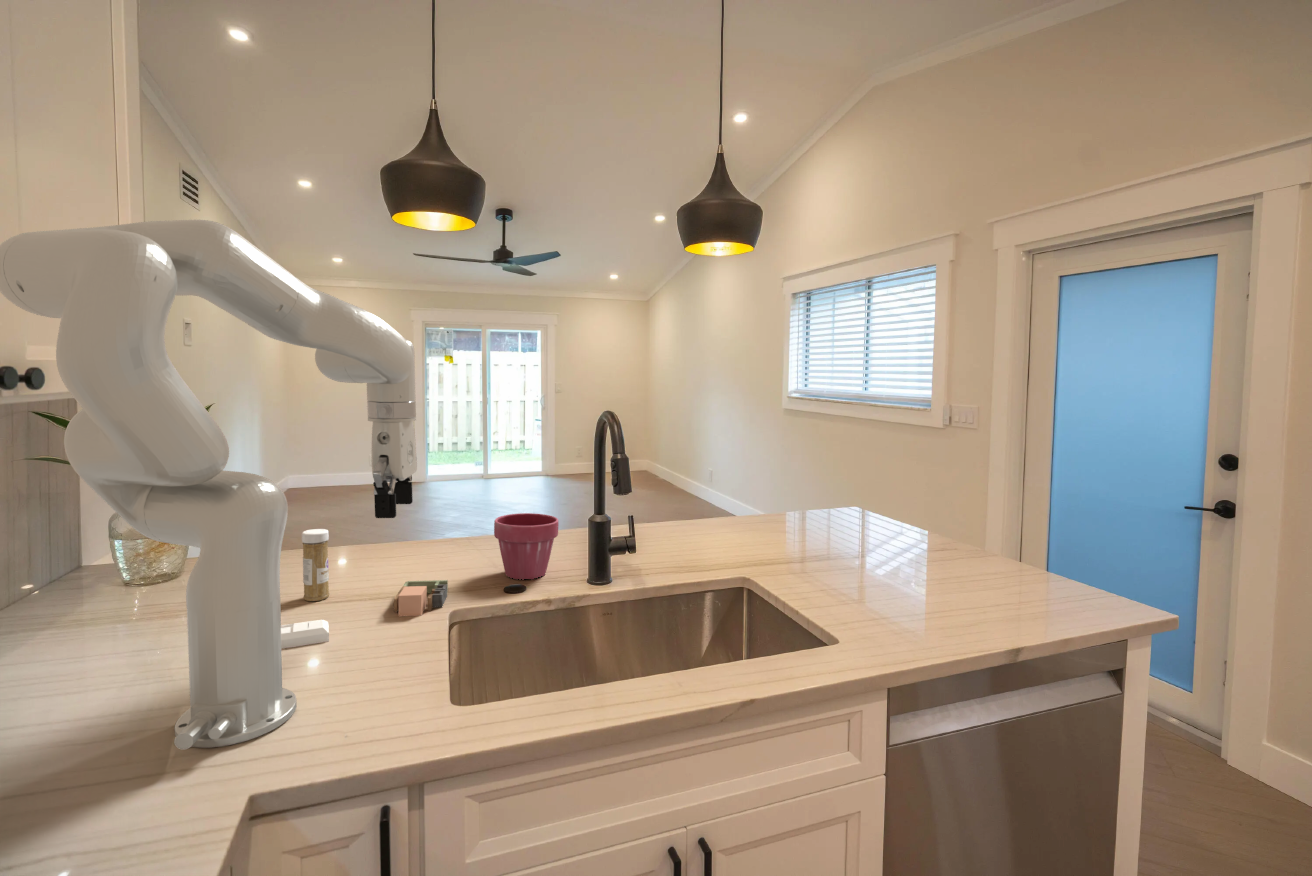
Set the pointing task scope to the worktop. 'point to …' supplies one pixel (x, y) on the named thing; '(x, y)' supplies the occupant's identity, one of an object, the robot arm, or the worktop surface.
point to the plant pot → (525, 543)
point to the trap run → (434, 587)
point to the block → (412, 601)
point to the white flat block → (304, 633)
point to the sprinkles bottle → (315, 564)
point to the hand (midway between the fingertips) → (394, 510)
